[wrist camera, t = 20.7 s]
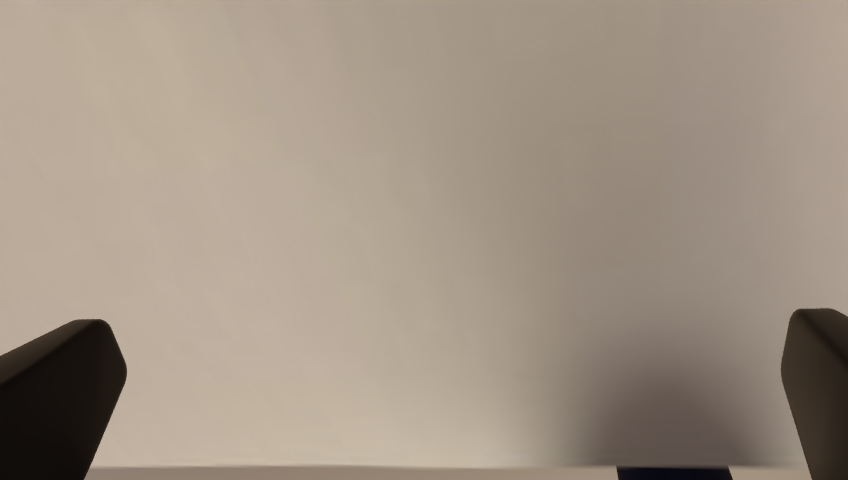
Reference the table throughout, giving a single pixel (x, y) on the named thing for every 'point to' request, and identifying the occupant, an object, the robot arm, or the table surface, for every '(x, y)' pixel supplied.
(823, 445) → the robot arm
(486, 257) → the table surface
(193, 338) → the table surface
